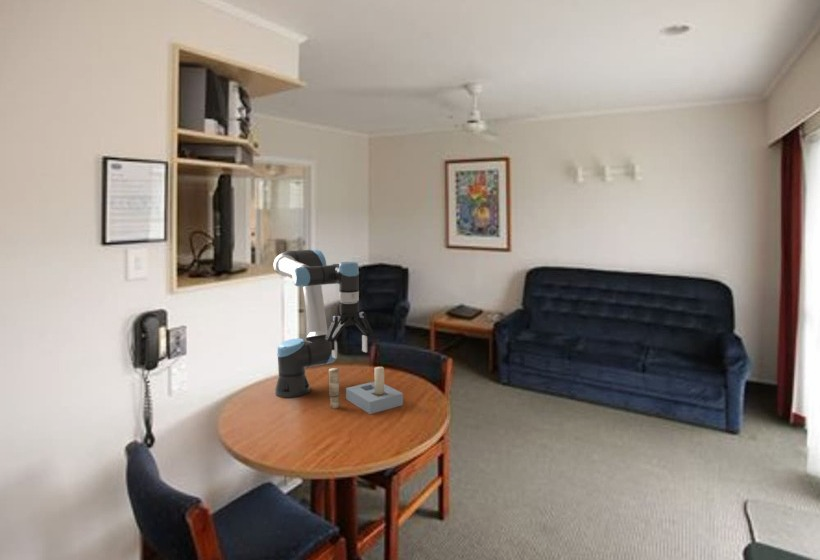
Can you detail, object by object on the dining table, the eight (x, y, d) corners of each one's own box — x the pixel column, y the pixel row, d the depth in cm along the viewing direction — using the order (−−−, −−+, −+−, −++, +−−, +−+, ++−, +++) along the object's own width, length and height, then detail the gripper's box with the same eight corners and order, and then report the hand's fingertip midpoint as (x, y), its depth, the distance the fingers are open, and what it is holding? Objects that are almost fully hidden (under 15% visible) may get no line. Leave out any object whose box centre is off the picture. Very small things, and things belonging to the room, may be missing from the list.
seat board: (346, 399, 208) (345, 363, 206) (377, 391, 217) (377, 356, 215) (370, 414, 192) (369, 375, 190) (403, 405, 201) (402, 367, 199)
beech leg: (328, 406, 200) (326, 369, 198) (336, 404, 202) (335, 367, 200) (332, 409, 196) (331, 371, 194) (341, 407, 199) (340, 370, 197)
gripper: (324, 307, 177) (325, 362, 180) (381, 299, 192) (381, 351, 195) (315, 304, 183) (316, 357, 186) (371, 296, 198) (371, 346, 201)
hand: (349, 354), depth 191 cm, fingers open, 13 cm apart
